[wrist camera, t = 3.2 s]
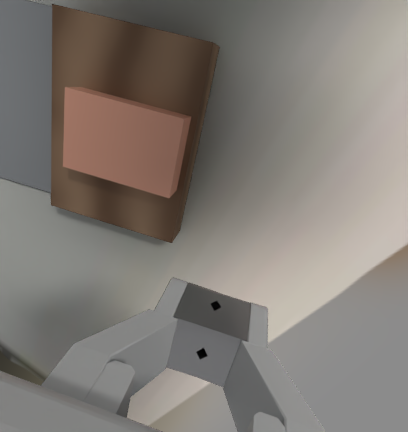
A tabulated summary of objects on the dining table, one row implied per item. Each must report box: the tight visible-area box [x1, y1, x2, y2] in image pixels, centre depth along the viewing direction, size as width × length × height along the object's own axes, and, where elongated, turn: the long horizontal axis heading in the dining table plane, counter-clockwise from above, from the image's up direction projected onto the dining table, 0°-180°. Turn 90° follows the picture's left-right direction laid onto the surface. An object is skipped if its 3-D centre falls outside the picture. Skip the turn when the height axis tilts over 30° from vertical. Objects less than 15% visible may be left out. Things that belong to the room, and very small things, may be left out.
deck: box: [51, 4, 219, 243], centre depth 25 cm, size 12×16×2 cm
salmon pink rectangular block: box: [63, 87, 191, 198], centre depth 23 cm, size 9×6×2 cm, turn 77°
